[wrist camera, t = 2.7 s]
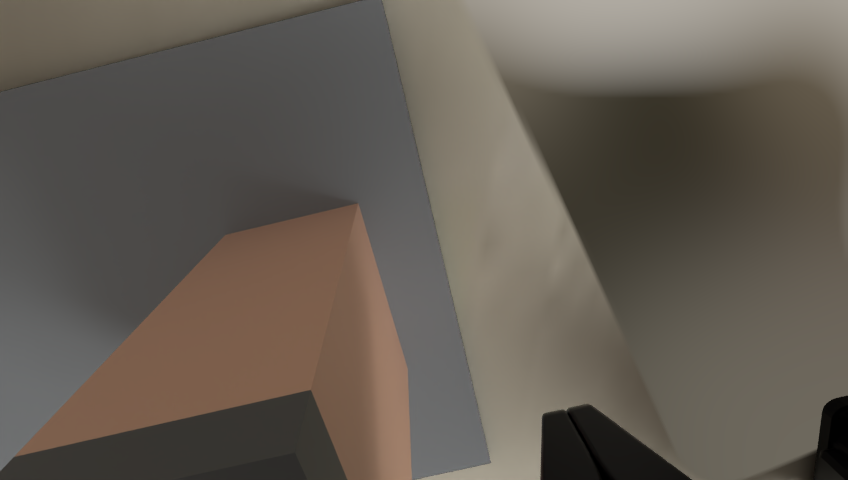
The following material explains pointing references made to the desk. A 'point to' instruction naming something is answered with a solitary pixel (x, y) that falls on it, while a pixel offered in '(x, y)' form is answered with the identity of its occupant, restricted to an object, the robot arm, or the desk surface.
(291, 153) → the rubber mat
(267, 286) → the terracotta block
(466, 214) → the desk surface
